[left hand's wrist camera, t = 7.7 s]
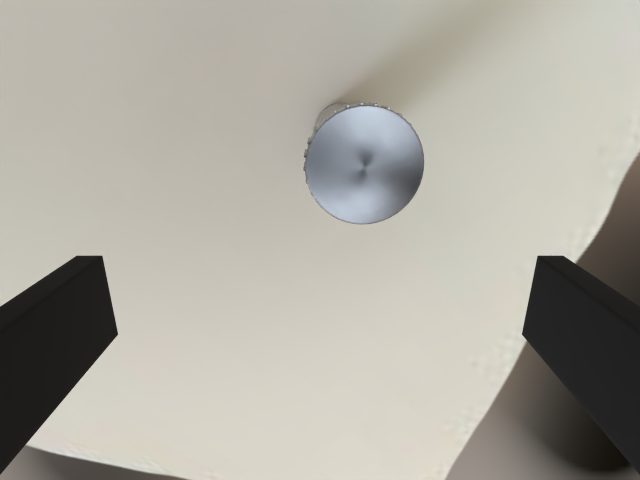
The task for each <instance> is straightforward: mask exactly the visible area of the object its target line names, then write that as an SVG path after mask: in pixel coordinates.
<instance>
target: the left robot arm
mask: <svg viewBox="0 0 640 480" xmlns="http://www.w3.org/2000/svg"><path fill="white" fill-rule="evenodd" d="M117 335H118V332H117V327H116V322H115V317H114V312H113V307H112V302H111V297H110V292H109V287H108V282H107V277H106V272H105V267H104V262H103V257H102V256H76V257H74V258H73V259H71V260H70V261H68V262H67V263H65V264H64V265H62V266H61V267H59V268H58V269H56V270H55V271H53V272H52V273H50V274H49V275H47V276H46V277H44V278H43V279H41V280H40V281H38V282H37V283H35V284H34V285H32V286H31V287H29V288H28V289H26V290H25V291H23V292H22V293H20V294H19V295H17V296H16V297H14V298H13V299H11V300H10V301H8V302H7V303H5V304H4V305H2V306H1V307H0V474H1V473H2V472H3V471H4V470H5V468H6V467H7V466H8V465H9V463H10V462H11V461H12V460H13V459H14V458H15V456H16V455H17V454H18V453H19V452H20V450H21V449H22V448H23V447H24V446H25V445H26V443H27V442H28V441H29V440H30V439H31V437H32V436H33V435H34V434H35V433H36V431H37V430H38V429H39V428H40V427H41V425H42V424H43V423H44V422H45V421H46V420H47V418H48V417H49V416H50V415H51V414H52V412H53V411H54V410H55V409H56V408H57V406H58V405H59V404H60V403H61V402H62V400H63V399H64V398H65V397H66V396H67V395H68V393H69V392H70V391H71V390H72V389H73V387H74V386H75V385H76V384H77V383H78V381H79V380H80V379H81V378H82V377H83V375H84V374H85V373H86V372H87V371H88V370H89V368H90V367H91V366H92V365H93V364H94V362H95V361H96V360H97V359H98V358H99V356H100V355H101V354H102V353H103V352H104V350H105V349H106V348H107V347H108V346H109V345H110V343H111V342H112V341H113V340H114V339H115V337H116V336H117ZM522 335H523V336H524V337H525V339H526V340H527V341H528V342H529V343H530V344H531V346H532V347H533V348H534V349H535V350H536V352H537V353H538V354H539V355H540V356H541V358H542V359H543V360H544V361H545V362H546V364H547V365H548V366H549V367H550V368H551V370H552V371H553V372H554V373H555V374H556V375H557V377H558V378H559V379H560V380H561V381H562V383H563V384H564V385H565V386H566V387H567V389H568V390H569V391H570V392H571V393H572V395H573V396H574V397H575V398H576V399H577V400H578V402H579V403H580V404H581V405H582V406H583V408H584V409H585V410H586V411H587V412H588V414H589V415H590V416H591V417H592V418H593V420H594V421H595V422H596V423H597V424H598V425H599V427H600V428H601V429H602V430H603V431H604V433H605V434H606V435H607V436H608V437H609V438H610V440H611V441H612V442H613V443H614V445H615V446H616V447H617V448H618V449H619V450H620V452H621V453H622V454H623V455H624V456H625V458H626V459H627V460H628V461H629V462H630V464H631V465H632V466H633V467H634V468H635V470H636V471H637V472H638V473H639V474H640V307H639V306H638V305H636V304H635V303H633V302H632V301H630V300H629V299H627V298H626V297H624V296H623V295H621V294H620V293H618V292H617V291H615V290H614V289H612V288H611V287H609V286H608V285H606V284H605V283H603V282H602V281H600V280H599V279H597V278H596V277H594V276H593V275H591V274H590V273H588V272H587V271H585V270H584V269H582V268H581V267H579V266H578V265H576V264H575V263H573V262H572V261H570V260H569V259H567V258H566V257H564V256H538V257H537V262H536V267H535V272H534V277H533V282H532V287H531V292H530V297H529V302H528V307H527V312H526V317H525V322H524V327H523V332H522Z"/></svg>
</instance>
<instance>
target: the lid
mask: <svg viewBox="0 0 640 480" xmlns="http://www.w3.org/2000/svg"><path fill="white" fill-rule="evenodd" d="M332 111H333V112H332V113H330V114H329V115H327V116H326V117H324V116H323V117H322V121H321V122H320V123H319V124H318V126H317V127H316V126H315V127H314V132H313V134H312V136H311V138H310V137H309V138H308V143H307V144H308V148H307V150H306V149H305V154H304V157H305V158H306V162H305V163H304V171H305V173H306V184H307V183H308V186H309V189H310V191H311V195H313V197H314V198H315V200H316V202H317V203H318V204H319V205H320V206H321V207H322V208H323V209H324V210H325V211H326V212H327V213H329V214H330V215H332V216H333V217H335V218H337V219H339V220H342V221H345V222H348V223H353V224H371V223H376V222H380V221H383V220H385V219H388V218H390V217H392V216H393V215H395V214H397V213H398V212H399V211H401V210H402V209H403V208H404V207H405V206H406V205H407V204H408V203H409V202H410V201H411V199H412V198H413V196H414V195H415V193H416V192H417V190H418V187H419V185H420V183H421V179H422V176H423V170H424V154H423V149H422V145H421V142H420V140H419V137H418V135H417V134H416V132H415V130H414V129H413V128H412V126H411V124H410V123H408V122H407V121H406V120H405V119H404V118H403V117H401V116H402V115H401V114H399V113H395V112H393V111H391V110H390V108H389V107H386V106H381V107H379V106H377V104H376V103H371V102H369V104H363V103H362V102H357V104H352V105H348V104H344V107H341V108H339V109H337V110H335V109H333V110H332Z"/></svg>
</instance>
